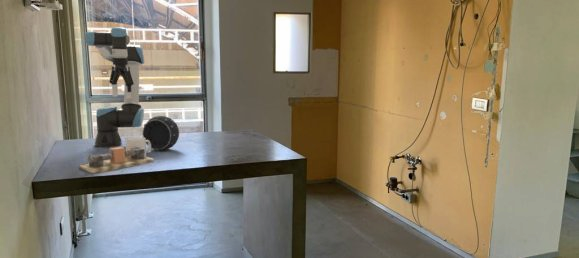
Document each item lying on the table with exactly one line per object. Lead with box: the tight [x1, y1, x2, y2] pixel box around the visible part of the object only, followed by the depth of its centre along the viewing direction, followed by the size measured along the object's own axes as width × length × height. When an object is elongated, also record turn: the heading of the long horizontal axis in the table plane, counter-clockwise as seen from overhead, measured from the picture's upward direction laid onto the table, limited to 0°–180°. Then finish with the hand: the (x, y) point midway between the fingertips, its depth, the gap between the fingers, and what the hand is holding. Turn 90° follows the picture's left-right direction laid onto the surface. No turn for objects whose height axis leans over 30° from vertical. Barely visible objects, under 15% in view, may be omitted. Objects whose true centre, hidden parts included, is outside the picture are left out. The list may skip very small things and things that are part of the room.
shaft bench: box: [78, 148, 155, 174], centre depth 217 cm, size 32×14×6 cm, turn 141°
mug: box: [125, 136, 152, 157], centre depth 235 cm, size 14×10×11 cm
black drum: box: [142, 115, 180, 152], centre depth 251 cm, size 11×20×20 cm, turn 78°
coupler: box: [109, 146, 126, 163], centre depth 216 cm, size 4×6×7 cm
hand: (121, 97), depth 234 cm, fingers open, 13 cm apart
